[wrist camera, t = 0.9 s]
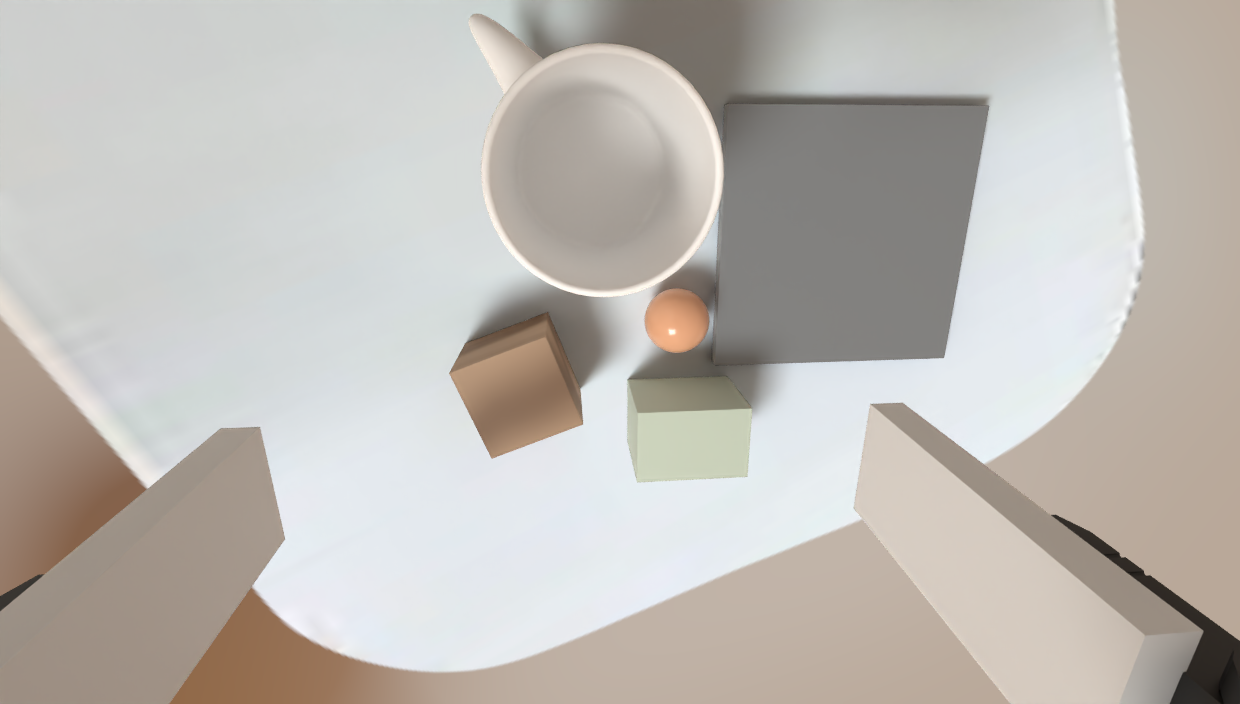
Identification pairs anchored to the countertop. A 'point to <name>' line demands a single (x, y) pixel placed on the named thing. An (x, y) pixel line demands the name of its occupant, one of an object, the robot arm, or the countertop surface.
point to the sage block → (687, 428)
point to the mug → (597, 163)
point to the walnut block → (518, 385)
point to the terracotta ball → (676, 320)
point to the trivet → (842, 230)
